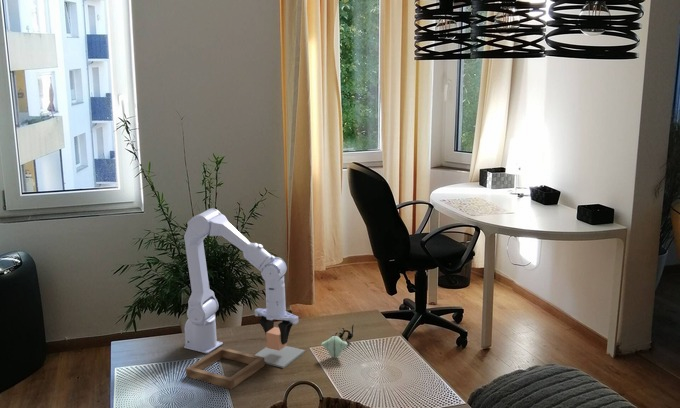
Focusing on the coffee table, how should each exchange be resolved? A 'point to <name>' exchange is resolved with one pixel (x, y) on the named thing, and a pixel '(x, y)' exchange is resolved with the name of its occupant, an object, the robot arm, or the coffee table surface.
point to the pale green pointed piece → (334, 346)
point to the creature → (344, 332)
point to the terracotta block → (274, 339)
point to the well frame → (228, 382)
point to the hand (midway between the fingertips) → (277, 341)
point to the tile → (280, 356)
